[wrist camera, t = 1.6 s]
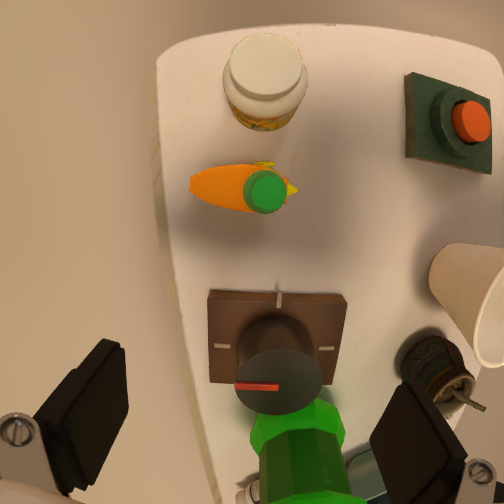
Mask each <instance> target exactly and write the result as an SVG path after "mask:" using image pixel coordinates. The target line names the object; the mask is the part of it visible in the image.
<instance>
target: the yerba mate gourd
mask: <svg viewBox="0 0 504 504" xmlns="http://www.w3.org/2000/svg"><path fill="white" fill-rule="evenodd" d="M401 376H402V381H419V382H420V383H421V384H422V386H423V387H424V389H425V390H426V392H427V393H428V394H429V396H430V397H431V399H432V400H433V402H434V403H435V405H436V406H437V408H438V409H439V411H440V412H441V414H442V415H443V417H447V416H449V415H451V414H453V413H454V412H456V411H457V410H459V409H460V408H461V407H462V406H463V405H464V404H465V403H466V404H468V405H471V406H473V407H474V408H476V409H479V410H480V411H482V412H484V410H485V409H486V407H484V406H482V405H480V404H478V403H477V402H474V401H472V400H471V399H469V398H470V396H471V394H472V392H473V390H474V387H475V378H474V376H473V375H471V373H470V372H469V371H468V370H467V369H466V368H465V365H464V361H463V357H462V355H461V353H460V351H459V349H458V347H457V346H456V345H455V344H454V343H452V342H450V341H449V340H447V339H445V338H442V337H440V336H430V337H427V338H425V339H423V340H421V341H419V342H418V343H416V344H415V345H414V346H413V347H412V348H411V349H410V350H409V351H408V352H407V354H406V356H405V357H404V360H403V362H402V366H401Z"/></svg>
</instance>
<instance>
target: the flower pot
mask: <svg viewBox="0 0 504 504" xmlns="http://www.w3.org/2000/svg"><path fill="white" fill-rule="evenodd" d="M347 475H348V479H349V483H350V487H351V491H352V495H353V496H356V497H359V498H362V499H365V501H366V503H367V504H391V502H390V499H389V497H388V494H387V491H386V488H385V485H384V482H383V479H382V476H381V473H380V471H379V468H378V465H377V462H376V459H375V457H374V454H373V451H372V449H371V450H369V451H367V452H365V453H363V454H360V455H358V456H356V457H354V458H353V459H352V461H351V463H350V464H349V467H348V469H347Z"/></svg>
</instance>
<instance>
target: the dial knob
mask: <svg viewBox="0 0 504 504" xmlns="http://www.w3.org/2000/svg"><path fill="white" fill-rule="evenodd" d="M322 384H323V375H322V371H321V368H320V364H319V361H318V358H317V355H316V351H315V348H314V345H313V342H312V339H311V336H310V334H309V332H308V330H307V329H306V327H305V326H304V325H303V324H301V323H300V322H299V321H297V320H295V319H293V318H290V317H287V316H280V315H273V316H267V317H263V318H261V319H258V320H256V321H254V322H253V323H251V324H250V325H249V326H248V327H247V328H246V329H245V330H244V331H243V333H242V335H241V337H240V339H239V344H238V353H237V363H236V373H235V383H234V385H235V391H236V394H237V396H238V397H239V399H240V400H241V402H242V403H243V404H244V405H246V406H247V407H248V408H250V409H251V410H253V411H255V412H258V413H261V414H265V415H286V414H291V413H294V412H297V411H299V410H301V409H303V408H305V407H306V406H308V405H309V404H310V403H311V402H313V401H314V399H315V398H316V397H317V396H318V394H319V392H320V390H321V388H322Z"/></svg>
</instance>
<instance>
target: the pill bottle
mask: <svg viewBox="0 0 504 504" xmlns="http://www.w3.org/2000/svg"><path fill="white" fill-rule="evenodd" d="M236 503H237V504H260V490H259V480H256V481H254V482H251V483H250V484H249V485H248V486H247V489H244V490H241V491H239V492H237V494H236Z"/></svg>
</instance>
